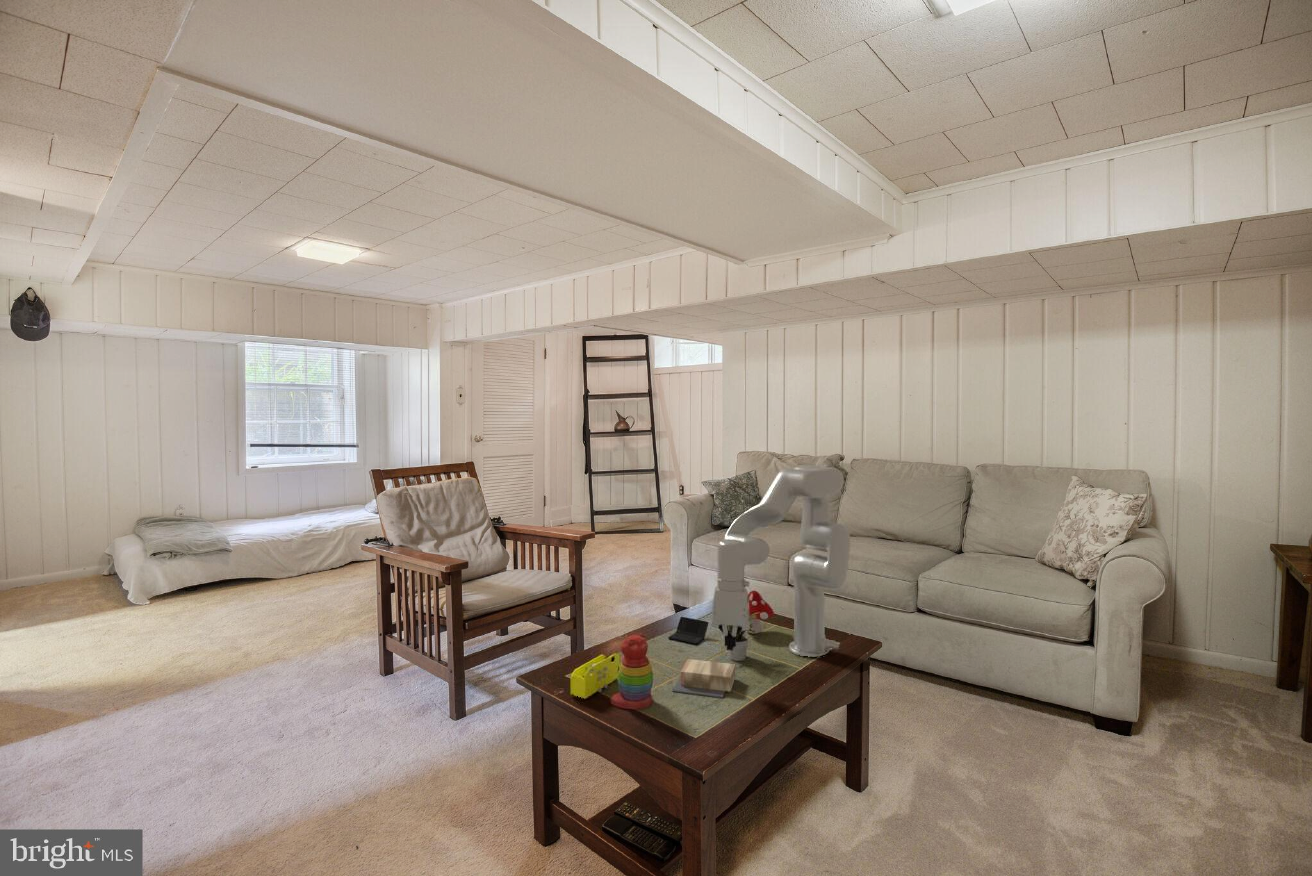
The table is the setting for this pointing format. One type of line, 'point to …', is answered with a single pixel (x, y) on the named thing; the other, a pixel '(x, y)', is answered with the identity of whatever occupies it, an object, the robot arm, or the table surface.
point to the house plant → (740, 643)
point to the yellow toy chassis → (594, 675)
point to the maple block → (708, 675)
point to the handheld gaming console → (690, 631)
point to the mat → (697, 690)
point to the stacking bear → (634, 675)
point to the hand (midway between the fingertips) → (730, 648)
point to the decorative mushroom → (758, 610)
